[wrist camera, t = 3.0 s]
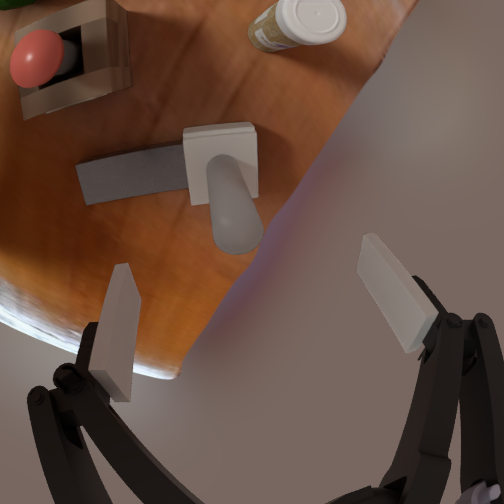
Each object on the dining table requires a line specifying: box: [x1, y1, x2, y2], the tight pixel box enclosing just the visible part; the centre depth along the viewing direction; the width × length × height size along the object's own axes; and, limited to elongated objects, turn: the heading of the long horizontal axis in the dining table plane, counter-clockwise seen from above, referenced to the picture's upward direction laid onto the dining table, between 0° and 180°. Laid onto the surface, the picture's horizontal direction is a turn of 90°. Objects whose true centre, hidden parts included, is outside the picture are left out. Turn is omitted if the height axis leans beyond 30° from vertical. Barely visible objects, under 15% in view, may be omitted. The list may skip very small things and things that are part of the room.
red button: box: [10, 29, 84, 88], centre depth 15 cm, size 4×4×8 cm
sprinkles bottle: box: [248, 0, 347, 52], centre depth 19 cm, size 5×5×14 cm
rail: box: [75, 140, 259, 205], centre depth 30 cm, size 20×5×2 cm, turn 92°
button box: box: [15, 0, 133, 121], centre depth 19 cm, size 9×9×8 cm
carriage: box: [183, 122, 264, 255], centre depth 25 cm, size 7×8×16 cm
